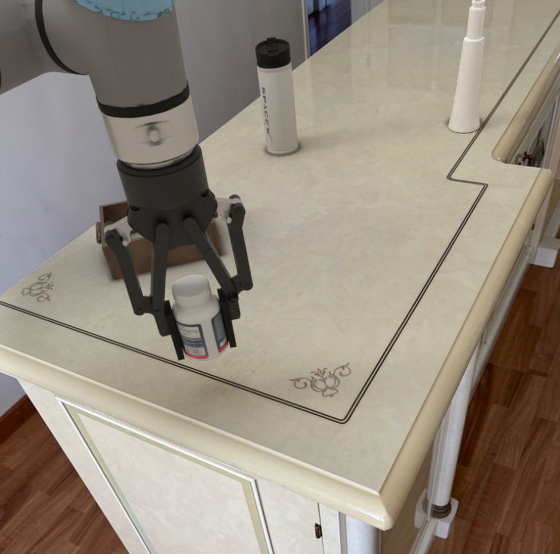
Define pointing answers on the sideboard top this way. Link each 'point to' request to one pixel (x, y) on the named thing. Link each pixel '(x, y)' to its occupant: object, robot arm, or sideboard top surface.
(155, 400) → the sideboard top surface
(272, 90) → the travel mug
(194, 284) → the pill bottle
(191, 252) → the brown wooden open box
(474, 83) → the cosmetic bottle
